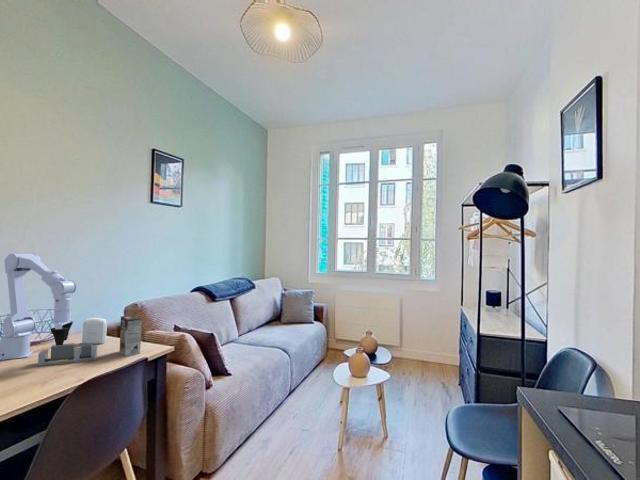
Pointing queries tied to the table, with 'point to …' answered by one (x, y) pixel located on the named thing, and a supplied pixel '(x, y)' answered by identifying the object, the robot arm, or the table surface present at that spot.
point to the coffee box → (130, 335)
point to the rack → (80, 354)
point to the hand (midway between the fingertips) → (61, 342)
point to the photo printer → (94, 331)
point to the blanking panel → (62, 351)
